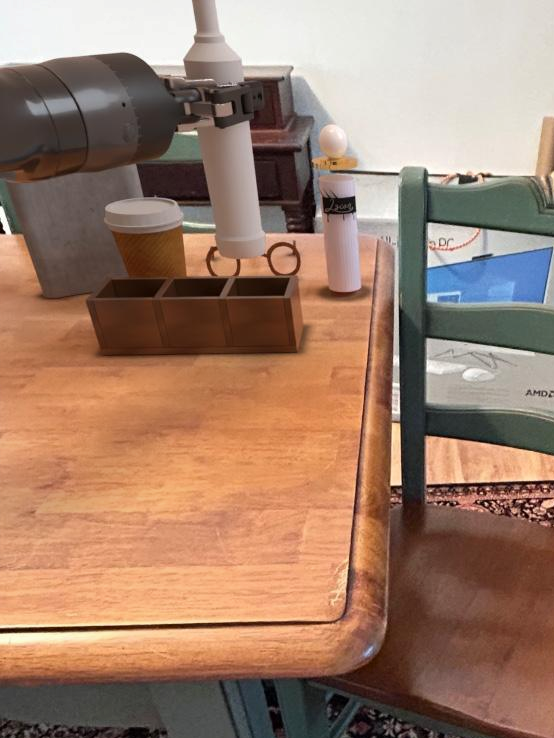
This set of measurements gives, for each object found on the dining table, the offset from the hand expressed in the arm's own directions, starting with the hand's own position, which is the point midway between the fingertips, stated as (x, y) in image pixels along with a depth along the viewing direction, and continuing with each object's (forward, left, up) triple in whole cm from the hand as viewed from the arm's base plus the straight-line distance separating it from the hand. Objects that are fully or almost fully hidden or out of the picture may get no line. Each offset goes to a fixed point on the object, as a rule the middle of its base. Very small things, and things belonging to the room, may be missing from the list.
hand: (235, 92), depth 70 cm
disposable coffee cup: (-17, +17, -26) cm, 35 cm away
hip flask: (-27, +24, -26) cm, 44 cm away
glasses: (-7, +32, -26) cm, 42 cm away
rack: (-9, +4, -26) cm, 27 cm away
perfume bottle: (+7, +21, -26) cm, 34 cm away
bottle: (-1, -2, -14) cm, 14 cm away
